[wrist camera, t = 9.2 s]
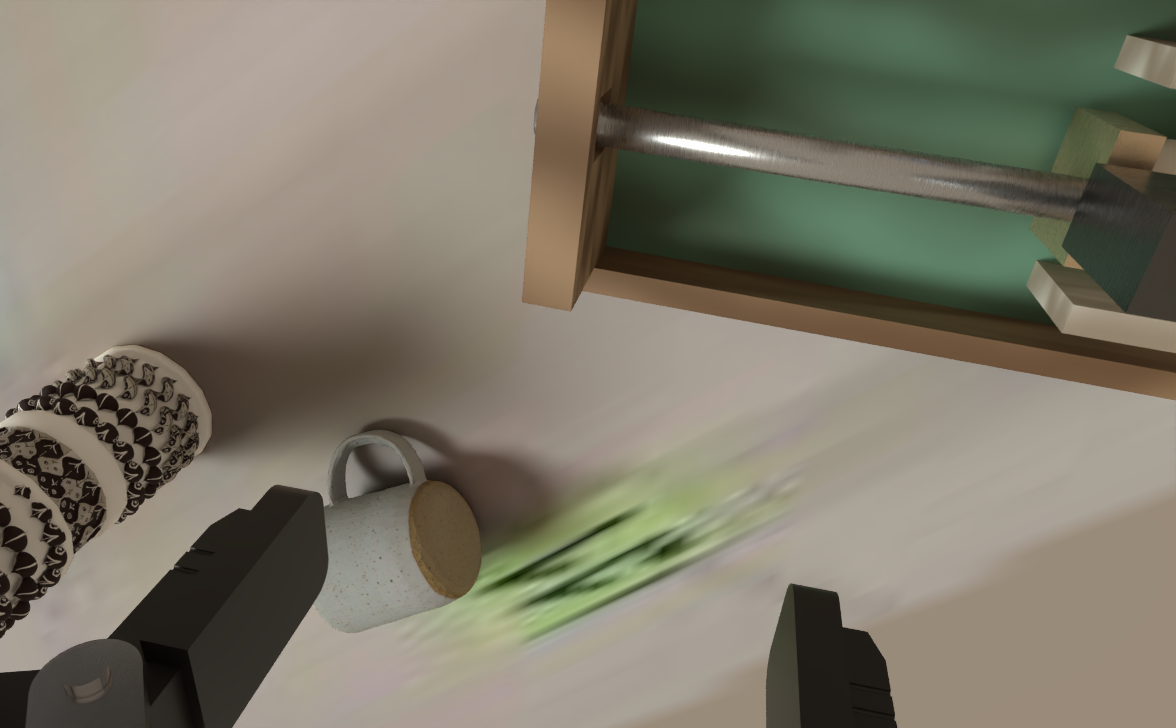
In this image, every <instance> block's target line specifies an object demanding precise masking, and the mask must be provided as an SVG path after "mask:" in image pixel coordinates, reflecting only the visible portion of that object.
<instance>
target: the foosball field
mask: <svg viewBox="0 0 1176 728" xmlns="http://www.w3.org/2000/svg"><path fill="white" fill-rule="evenodd" d="M600 102H604V103H610V104H616V105H623V106H629V107H636V108H642V109H649V110H655V111H661V112H668V113H674V114H681V115H687V116H693V117H700V118H706V119H713V120H719V121H726V122H732V123H738V124H745V125H751V126H758V127H764V128H771V129H777V130H783V131H790V132H796V133H803V134H809V135H816V136H822V137H828V138H835V139H841V140H848V141H854V142H860V143H867V144H873V145H880V146H886V147H893V148H899V149H905V150H912V151H918V152H925V153H931V154H938V155H944V156H950V157H957V158H963V159H970V160H976V161H983V162H989V163H995V164H1002V165H1008V166H1015V167H1021V168H1027V169H1034V170H1040V171H1047V172H1051V170H1052V168H1053V165H1054V163H1055V160H1056V158H1057V155H1058V152H1059V150H1060V147H1061V145H1062V142H1063V140H1064V137H1065V134H1066V132H1067V129H1068V127H1069V124H1070V122H1071V119H1072V116H1073V114H1074V111H1075V109H1076V107H1083V108H1089V109H1096V110H1103V111H1110V112H1117V113H1119V114H1121V115H1123V116H1125V117H1127V118H1129V119H1131V120H1133V121H1135V122H1137V123H1139V124H1141V125H1143V126H1145V127H1147V128H1149V129H1151V130H1154V131H1156V132H1158V133H1160V134H1162V135H1164V136H1166V137H1167V139H1173V140H1176V0H546V12H545V24H544V36H543V49H542V61H541V73H540V86H539V98H538V110H537V123H536V135H535V147H534V160H533V172H532V184H531V197H530V209H529V222H528V234H527V246H526V259H525V271H524V283H523V296H522V302H524V303H529V304H535V305H540V306H545V307H551V308H556V309H561V310H567V311H571V310H572V308H573V307H574V305H575V303H576V301H577V299H578V297H579V295H580V294H581V292H582V291H586V292H591V293H596V294H602V295H607V296H613V297H618V298H624V299H629V300H634V301H640V302H645V303H651V304H656V305H662V306H667V307H672V308H678V309H683V310H689V311H694V312H700V313H705V314H710V315H716V316H721V317H727V318H732V319H738V320H743V321H748V322H754V323H759V324H765V325H770V326H776V327H781V328H786V329H792V330H797V331H803V332H808V333H814V334H819V335H824V336H830V337H835V338H841V339H846V340H852V341H857V342H862V343H868V344H873V345H879V346H884V347H890V348H895V349H900V350H906V351H911V352H917V353H922V354H927V355H933V356H938V357H944V358H949V359H955V360H960V361H965V362H971V363H976V364H982V365H987V366H993V367H998V368H1003V369H1009V370H1014V371H1020V372H1025V373H1031V374H1036V375H1041V376H1047V377H1052V378H1058V379H1063V380H1069V381H1074V382H1079V383H1085V384H1090V385H1096V386H1101V387H1107V388H1112V389H1117V390H1123V391H1128V392H1134V393H1139V394H1145V395H1150V396H1155V397H1161V398H1166V399H1172V400H1176V322H1173V321H1168V320H1162V319H1156V318H1150V317H1145V316H1139V315H1133V314H1127V313H1125V312H1124V311H1123V310H1122V309H1121V308H1120V307H1119V306H1118V305H1117V304H1116V303H1115V302H1114V300H1113V299H1112V298H1111V297H1110V296H1109V295H1108V294H1107V293H1106V292H1105V291H1104V290H1103V289H1102V288H1101V287H1100V286H1099V285H1098V284H1097V283H1096V282H1095V281H1094V280H1093V279H1092V278H1091V277H1090V276H1089V275H1088V273H1087V272H1086V271H1085V270H1082V269H1076V268H1070V267H1065V266H1063V265H1062V264H1061V263H1060V262H1059V261H1058V260H1057V259H1056V258H1055V256H1054V255H1053V254H1052V253H1051V252H1050V251H1049V250H1048V249H1047V248H1046V247H1045V245H1044V244H1043V243H1042V242H1041V241H1040V240H1039V239H1038V238H1037V237H1036V236H1035V234H1034V233H1033V232H1032V231H1031V230H1030V229H1029V227H1030V224H1031V222H1032V219H1033V217H1032V216H1026V215H1020V214H1014V213H1008V212H1001V211H995V210H989V209H983V208H977V207H971V206H964V205H958V204H952V203H946V202H940V201H934V200H927V199H921V198H915V197H909V196H903V195H897V194H890V193H884V192H878V191H872V190H866V189H860V188H854V187H847V186H841V185H835V184H829V183H823V182H817V181H810V180H804V179H798V178H792V177H786V176H780V175H773V174H767V173H761V172H755V171H749V170H743V169H736V168H730V167H724V166H718V165H712V164H706V163H699V162H693V161H687V160H681V159H675V158H669V157H662V156H656V155H650V154H644V153H638V152H632V151H626V150H619V149H613V148H607V147H601V146H595V143H596V134H597V125H598V117H599V108H600ZM1167 139H1166V140H1167Z"/></svg>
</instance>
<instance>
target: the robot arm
mask: <svg viewBox="0 0 1176 728" xmlns="http://www.w3.org/2000/svg"><path fill="white" fill-rule="evenodd" d="M328 562H329V558H328V547H327V536H326V526H325V516H324V506H323V499H322V496H321V495H320V494H319V493H318V492H314V491H308V490H303V489H298V488H292V487H287V486H282V485H275V486H273V487H271V488H270V489H269V490H268V491H267V492H266V494H265V495H264V496H263V497H262V498H261V499H260V501H259V502H258V503H257V504H256V505H255V506H254V507H253V509H252V510H245V509H240V508H239V509H237V510H235V511H234V512H232V513H230V514H229V515H227V516H225V517H224V518H222V519H220V520H219V521H217V522H215V523H214V524H212V525H210V526H209V528H208V529H207V530H206V531H205V532H204V533H203V534H202V535H201V536H200V537H199V539H198V540H197V541H196V542H195V543H194V544H193V545H192V546H191V549H190V551H189V552H186V553H185V554H184V555H183V556H182V557H181V558H180V559H179V561H178V562H177V563H176V564H175V565H174V569H173V570H169V572H168V573H167V574H166V575H165V576H164V577H163V578H162V579H161V580H160V581H159V583H158V584H157V585H156V586H155V587H154V588H153V589H152V590H151V591H150V592H149V594H148V595H147V596H146V597H145V598H144V599H143V600H142V601H141V602H140V603H139V605H138V606H137V607H136V608H135V609H134V610H133V611H132V612H131V613H130V614H129V616H128V617H127V618H126V619H125V620H124V621H123V622H122V623H121V624H120V625H119V627H118V628H117V629H116V630H115V631H114V632H113V633H112V634H111V635H110V636H109V637H108V638H107V639H99V640H93V641H88V642H85V643H82V644H79V645H76V646H74V647H72V648H69V649H67V650H66V651H64V652H62V653H60V654H59V655H57V656H56V657H54V658H53V659H52V660H50V661H49V662H48V663H47V664H46V665H45V666H44V667H43V668H42V669H41V670H32V671H18V672H5V673H0V728H232V727H233V725H234V724H235V722H236V721H237V719H238V718H239V716H240V715H241V713H242V712H243V710H244V709H245V707H246V706H247V704H248V703H249V701H250V699H251V698H252V696H253V695H254V693H255V692H256V690H257V689H258V687H259V686H260V684H261V683H262V681H263V680H264V678H265V676H266V675H267V673H268V672H269V670H270V669H271V667H272V666H273V664H274V663H275V661H276V660H277V658H278V657H279V655H280V654H281V652H282V650H283V649H284V647H285V646H286V644H287V643H288V641H289V640H290V638H291V637H292V635H293V634H294V632H295V631H296V629H297V628H298V626H299V624H300V623H301V621H302V620H303V618H304V617H305V615H306V614H307V612H308V611H309V609H310V608H311V606H312V605H313V603H314V602H315V600H316V598H317V597H318V595H319V594H320V592H321V590H322V587H323V585H324V582H325V579H326V575H327V571H328ZM890 691H891V690H890V684H889V678H888V672H887V666H886V661H885V659H884V657H883V656H882V654H881V653H880V651H879V650H878V648H877V646H876V645H875V643H874V642H873V640H872V638H871V637H870V635H869V634H868V632H865V631H860V630H855V629H849V628H844V627H842V619H841V611H840V602H839V597H838V594H837V593H836V592H833V591H828V590H823V589H817V588H812V587H807V586H802V585H796V584H790V585H789V586H788V589H787V592H786V595H785V599H784V603H783V606H782V610H781V613H780V617H779V621H778V624H777V628H776V632H775V635H774V639H773V642H772V646H771V650H770V655H769V661H768V668H767V679H766V728H897V724H896V721H895V720H894V718H895V712H894V707H893V701H892V697H891V696H890Z"/></svg>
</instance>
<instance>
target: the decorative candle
mask: <svg viewBox="0 0 1176 728" xmlns="http://www.w3.org/2000/svg"><path fill="white" fill-rule="evenodd" d="M86 366H87V367H86V368H84V372H83V371H81V370H80V369H75V370H74V371H73V370H70V371H68V372H67V373H66V378H67V382H65V383H63V382H61V381H58V380H57V381H55V382H54V383H53V385H48V386H45V387H44V388H42V389H41V391H40V395H33V396H32V397H31V398H28V399H24V400H22V401H20V402H19V403H18V405H17V409H16V408H14V409H10V410H9V411H8V412H7V413H6V415H5V420H4V421H2V422H1V423H0V638H2V637H3V635H4V634H5V632H6V630H9V629H10V628H11V627H12V626H13V625H14V622H15V620H21V619H23V618H25V617H26V616H27V615H28V613H29V611H30V603H29V601H30V600H36V599H39V598H41V597H42V596H44V595H45V593H46V592H47V587H52V586H54V585H56V584H57V583H58V581H59V580H60V579H61V578H62V577H63V576H64V575H65V574H66V572H67V570H68V568H69V566H70V564H71V562H72V560H73V558H74V554H75V553H76V552H77V551H78V550H79V549H80V548H81V547H83V546H84V545H85V544H86V543H87V542H88V541H90V540H92V539H94V538H96V537H98V536H100V535H102V534H103V533H104V532H105V531H106V530H108V529H109V528H110V527H111V526H112V525H113V524H117V523H121V522H122V521H124V520H125V519H126V517H127V515H133V514H134V513H136V511H137V510H138V508H139V506H140V505H141V504H142V503H143V502H144V500H145V498H146V499H149V498H151V497H153V496H154V495H155V493H156V490H158V489H160V488H161V487H162V486H164V485H165V483H168V482H170V481H172V480H173V479H174V478H175V477H176V475H177V473H178V472H179V471H180V470H181V469H182V468H185V467H187V466H188V465H189V464H190V463H191V462H192V460H193V458H194V456H196V455H198V454H200V453H201V452H202V451H203V449H204V448H205V446H206V444H207V442H208V441H209V439H210V437H211V435H212V413H211V410H210V408H209V405H208V403H207V400H206V398H205V395H204V393H203V391H202V389H201V388H200V387H199V386H198V384H197V383H196V382H195V381H194V380H193V378H192V377H191V376H190V375H189V374H188V372H187V371H186V370H185V369H184V368H183V367H181V366H180V365H178V364H177V363H175V362H174V361H172V360H171V359H170V358H168V357H167V356H165V355H164V354H162V353H160V352H157V351H154V350H151V349H148V348H145V347H141V346H138V345H126V346H113V347H112V348H110V349H109V350H107V351H106V352H104V353H103V354H101V355H99V356H98V357H96V358H95V359H88V360H87V361H86ZM54 395H55V396H54ZM52 396H53V397H52ZM29 410H30V411H29ZM12 606H13V608H12Z"/></svg>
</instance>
